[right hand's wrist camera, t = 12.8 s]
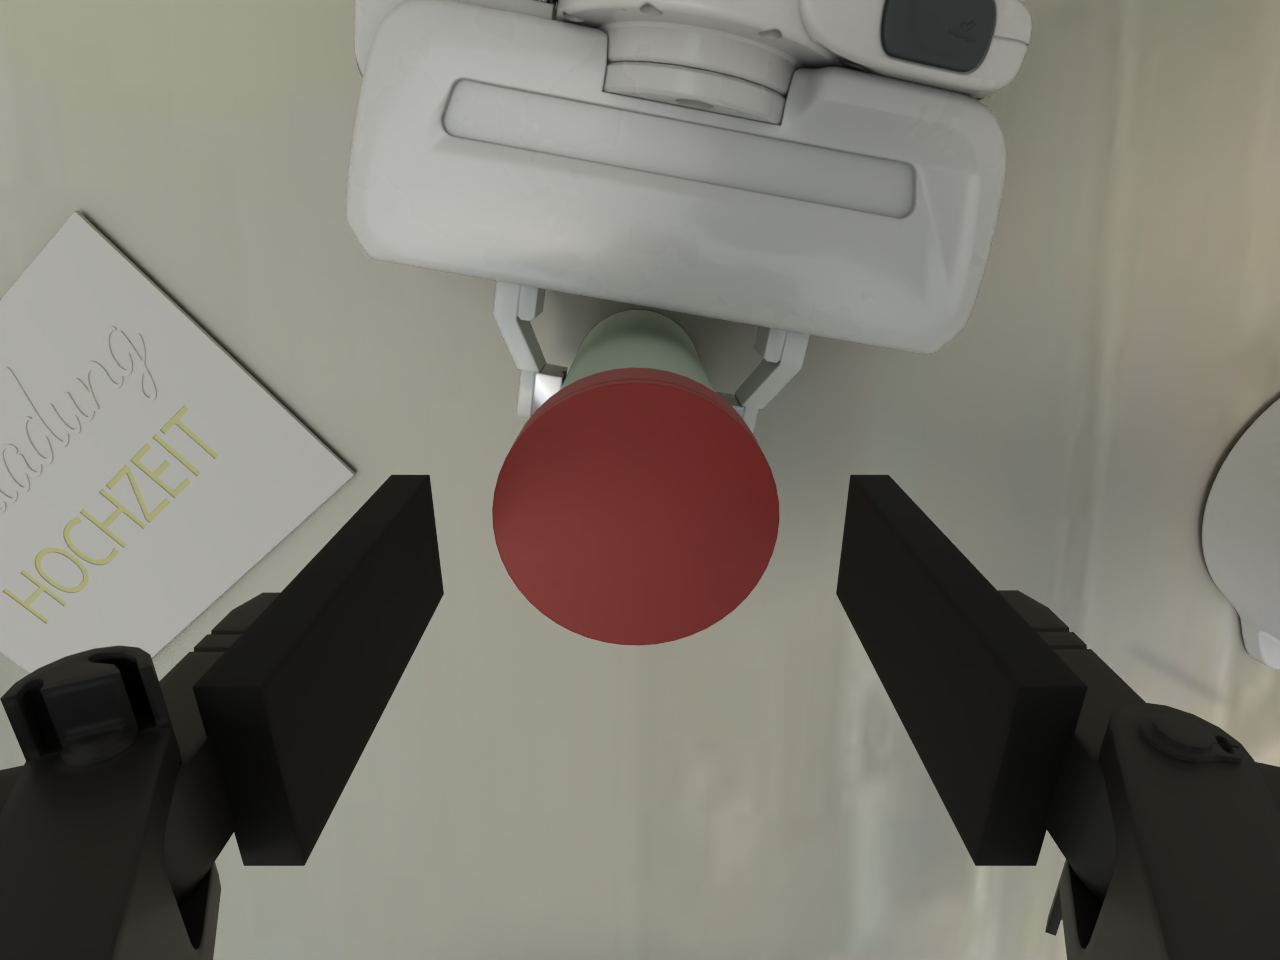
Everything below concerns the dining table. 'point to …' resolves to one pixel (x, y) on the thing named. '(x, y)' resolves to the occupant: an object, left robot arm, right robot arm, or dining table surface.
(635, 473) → the lid
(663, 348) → the jar
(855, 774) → the dining table surface
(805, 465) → the dining table surface
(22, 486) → the invitation card
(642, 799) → the dining table surface
